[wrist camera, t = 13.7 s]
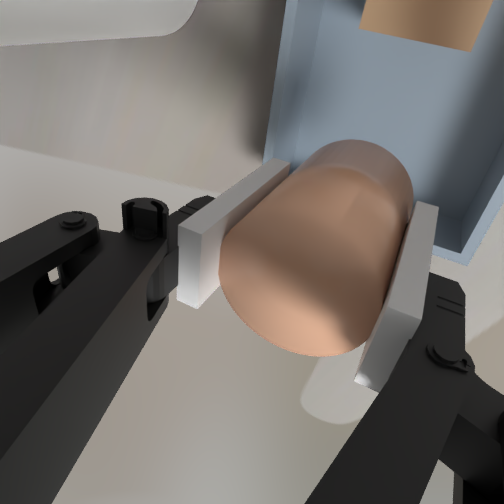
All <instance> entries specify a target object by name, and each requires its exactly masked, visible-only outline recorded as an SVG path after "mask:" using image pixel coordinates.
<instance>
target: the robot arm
mask: <svg viewBox="0 0 504 504" xmlns="http://www.w3.org/2000/svg"><path fill="white" fill-rule="evenodd" d="M289 168H290V162H286V161H283V160H280V159H276V158H272V159H271V160H269V161H268V162H266V163H265V164H264V165H262V166H261V167H259V168H258V169H256V170H255V171H254V172H252V173H251V174H249V175H248V176H247V177H245V178H244V179H242V180H241V181H240V182H238V183H237V184H235V185H234V186H233V187H231V188H230V189H228V190H227V191H225V192H224V193H223V194H221V195H220V196H219V197H217V198H213V197H210V196H208V195H207V196H204V197H200V198H196V199H194V200H192V201H191V202H189V203H188V204H186V206H183V207H181V208H180V209H179V210H178V211H175V212H174V213H172V214H171V215H169V209H168V207H167V205H166V204H165V203H163V202H162V201H159V200H156V199H153V198H135V199H131V200H127V201H125V202H124V203H122V217H123V230H122V231H121V232H120V233H118V232H112V231H106V230H100V229H99V223H98V220H97V218H96V216H94V215H92V214H90V213H86V212H82V211H79V212H78V211H72V212H66V213H62V214H60V215H57V216H55V217H53V218H50V219H48V220H46V221H44V222H42V223H40V224H38V225H36V226H34V227H32V228H30V229H28V230H26V231H24V232H22V233H19V234H18V235H16V236H13V237H11V238H9V239H7V240H5V241H3V242H1V243H0V504H52V502H53V500H54V499H55V497H56V495H57V493H58V492H59V490H60V488H61V487H62V485H63V483H64V482H65V480H66V478H67V477H68V475H69V473H70V471H71V470H72V468H73V466H74V464H75V463H76V461H77V459H78V458H79V456H80V454H81V453H82V451H83V449H84V447H85V446H86V444H87V442H88V441H89V439H90V437H91V436H92V434H93V432H94V430H95V429H96V427H97V425H98V424H99V422H100V420H101V418H102V417H103V415H104V413H105V412H106V410H107V408H108V406H109V405H110V403H111V401H112V400H113V398H114V396H115V394H116V393H117V391H118V389H119V388H120V386H121V384H122V383H123V381H124V379H125V377H126V376H127V374H128V372H129V370H130V369H131V367H132V365H133V364H134V362H135V360H136V359H137V357H138V355H139V354H140V352H141V350H142V348H143V347H144V345H145V343H146V342H147V340H148V338H149V336H150V335H151V333H152V331H153V329H154V328H155V326H156V324H157V323H158V321H159V319H160V318H161V316H162V314H163V312H164V311H165V309H166V307H167V305H168V301H169V297H168V295H169V293H170V292H171V291H172V290H173V289H174V288H175V287H176V286H177V300H178V301H181V302H183V303H185V304H187V305H189V306H192V307H194V308H196V309H198V308H199V307H200V306H201V305H202V304H203V303H204V302H205V301H206V299H207V298H208V297H209V296H210V295H211V294H212V293H213V292H214V291H215V290H216V289H217V288H218V287H219V285H220V280H219V276H218V270H219V258H220V247H221V244H222V242H223V240H224V238H225V236H226V235H227V234H228V232H229V231H230V230H231V229H232V228H233V227H234V226H235V225H236V224H237V223H238V222H239V221H240V220H241V219H243V218H244V217H245V216H246V215H247V214H248V213H249V212H250V211H251V210H252V209H253V208H254V207H256V206H257V205H258V204H259V203H260V202H261V201H262V200H263V199H264V198H265V197H266V196H267V195H269V194H270V193H271V192H272V191H273V190H274V189H275V188H276V187H277V186H278V185H279V184H280V183H282V182H283V181H284V180H285V179H286V178H287V177H288V174H289ZM438 210H439V207H437V206H434V205H430V204H427V203H424V202H420V201H417V202H416V204H415V207H414V209H413V212H412V214H411V216H410V219H409V221H408V224H407V227H406V230H405V234H404V237H403V240H402V244H401V247H400V250H399V254H398V257H397V260H396V264H395V267H394V270H393V274H392V277H391V280H390V283H389V287H388V290H387V293H386V297H385V300H384V303H383V307H382V310H381V313H380V315H379V317H378V319H377V322H376V324H375V326H374V328H373V330H372V333H371V335H370V337H369V338H368V339H367V341H366V344H365V347H364V350H363V354H362V357H361V360H360V363H359V366H358V369H357V373H356V376H355V379H354V381H355V382H357V383H359V384H361V385H363V386H366V387H368V388H370V389H372V390H374V391H376V392H379V394H378V396H377V397H376V398H375V400H374V401H373V403H372V404H371V406H370V407H369V409H368V410H367V412H366V413H365V415H364V416H363V418H362V419H361V421H360V422H359V424H358V425H357V427H356V428H355V430H354V431H353V433H352V434H351V436H350V437H349V439H348V440H347V442H346V443H345V444H344V446H343V448H342V449H341V450H340V452H339V453H338V455H337V457H336V458H335V459H334V461H333V463H332V464H331V465H330V467H329V468H328V470H327V471H326V473H325V474H324V476H323V477H322V479H321V480H320V482H319V483H318V485H317V486H316V487H315V489H314V491H313V492H312V493H311V495H310V496H309V498H308V499H307V501H306V502H305V504H419V503H420V501H421V499H422V496H423V494H424V491H425V489H426V487H427V484H428V482H429V480H430V477H431V475H432V473H433V470H434V468H435V466H436V463H437V461H438V459H439V460H441V461H442V462H443V463H444V464H445V465H447V466H448V467H449V468H450V469H452V470H453V471H454V489H453V504H504V395H502V394H501V393H499V392H498V391H496V390H495V389H493V388H491V387H490V386H489V385H488V384H486V383H485V382H484V381H483V380H482V379H480V378H479V377H478V376H477V375H476V374H475V365H474V363H473V361H472V359H471V356H470V355H469V354H468V353H467V352H466V351H465V293H464V291H463V290H462V288H461V286H460V285H459V283H458V282H456V281H453V280H450V279H447V278H445V277H442V276H439V275H436V274H433V273H430V272H429V269H430V263H431V256H432V250H433V243H434V236H435V230H436V223H437V217H438ZM56 267H57V270H58V275H59V279H57V280H56V281H53V282H50V280H49V277H48V272H49V271H51V270H52V269H54V268H56Z"/></svg>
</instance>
